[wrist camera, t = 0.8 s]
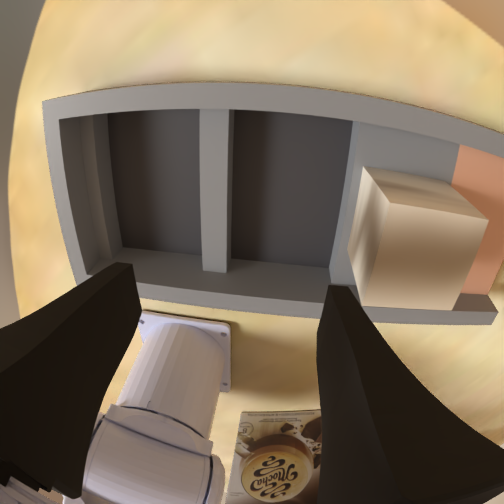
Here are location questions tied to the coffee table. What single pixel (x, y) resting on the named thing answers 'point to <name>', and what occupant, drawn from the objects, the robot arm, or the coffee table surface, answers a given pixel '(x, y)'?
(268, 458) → the coffee box
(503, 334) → the coffee table surface
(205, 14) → the coffee table surface
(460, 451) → the robot arm
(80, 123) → the tray
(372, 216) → the cream block
